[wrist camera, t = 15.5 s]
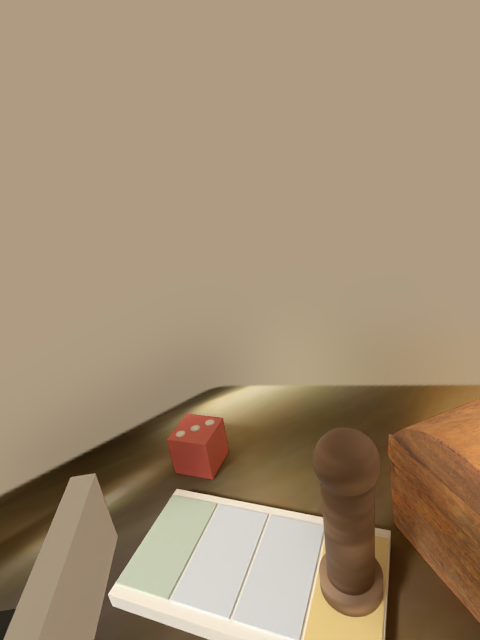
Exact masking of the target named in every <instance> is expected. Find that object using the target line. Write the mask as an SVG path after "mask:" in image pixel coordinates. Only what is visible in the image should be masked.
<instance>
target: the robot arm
mask: <svg viewBox="0 0 480 640" xmlns="http://www.w3.org/2000/svg"><path fill="white" fill-rule="evenodd" d="M116 541H117V534H116V531H115V528H114V525H113V522H112V519H111V517H110V514H109V511H108V508H107V505H106V502H105V499H104V497H103V494H102V491H101V488H100V485H99V482H98V479H97V477H96V474H95V473H94V474H88V475H81V476H75V477H70V480H69V482H68V485H67V487H66V489H65V492H64V494H63V497H62V499H61V502H60V504H59V506H58V509H57V511H56V514H55V516H54V518H53V521H52V523H51V526H50V528H49V531H48V533H47V535H46V538H45V540H44V543H43V545H42V547H41V550H40V552H39V555H38V557H37V560H36V562H35V564H34V567H33V569H32V572H31V574H30V576H29V579H28V581H27V584H26V586H25V589H24V591H23V593H22V596H21V598H20V601H19V603H18V605H17V608H16V609H12V610H6V611H0V640H94V637H95V633H96V628H97V624H98V620H99V615H100V611H101V607H102V602H103V598H104V594H105V589H106V585H107V580H108V576H109V572H110V567H111V563H112V559H113V554H114V550H115V546H116Z"/></svg>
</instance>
